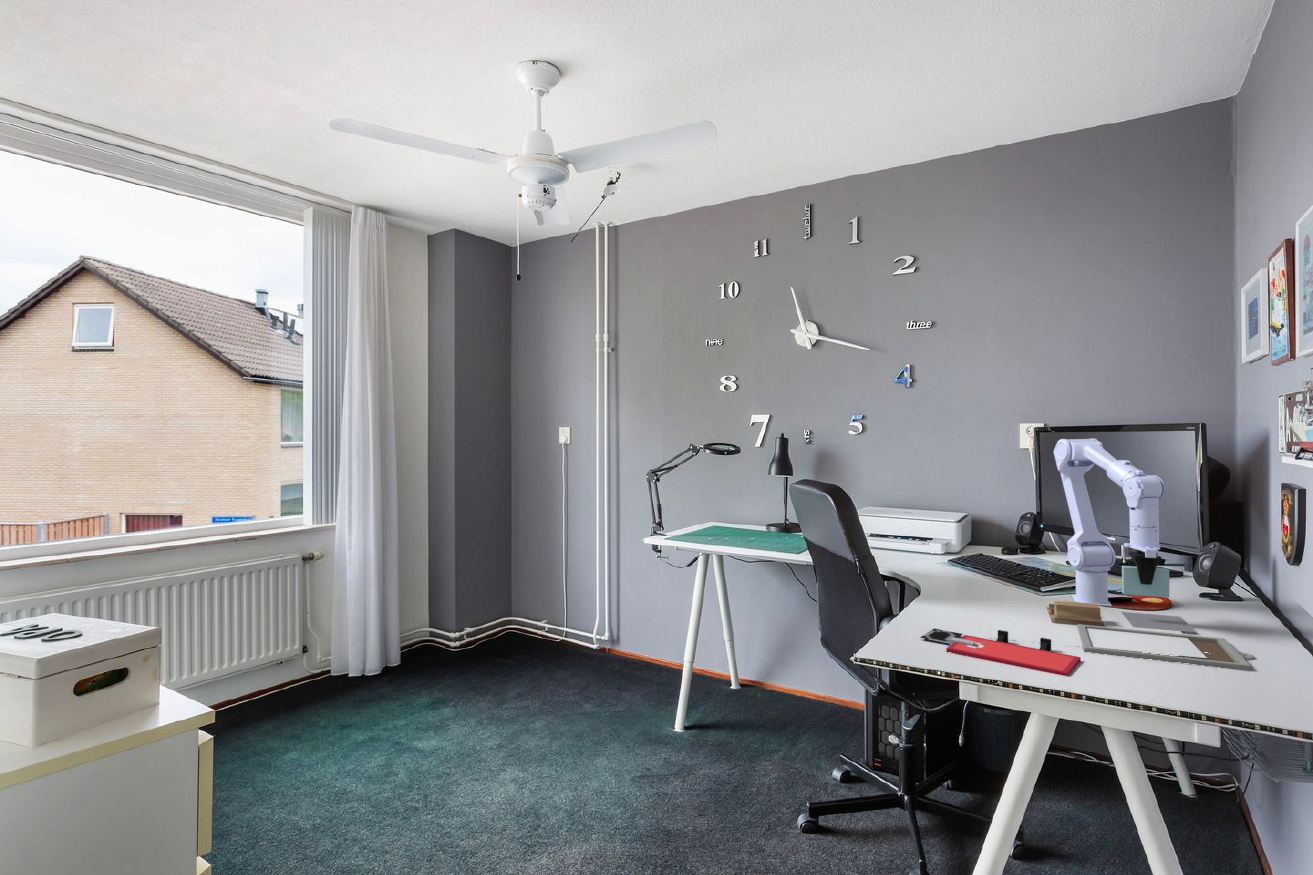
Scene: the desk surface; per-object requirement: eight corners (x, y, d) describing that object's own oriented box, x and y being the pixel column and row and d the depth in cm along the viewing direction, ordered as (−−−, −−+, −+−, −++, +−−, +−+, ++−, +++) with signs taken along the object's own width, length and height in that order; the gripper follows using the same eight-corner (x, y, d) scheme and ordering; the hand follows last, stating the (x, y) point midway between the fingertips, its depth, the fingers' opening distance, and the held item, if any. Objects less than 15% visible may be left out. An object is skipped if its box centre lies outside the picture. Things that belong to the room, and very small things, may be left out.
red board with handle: (937, 630, 162) (911, 647, 151) (937, 618, 162) (911, 634, 151) (1084, 658, 142) (1067, 680, 131) (1084, 645, 142) (1067, 666, 130)
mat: (1121, 613, 172) (1121, 611, 172) (1180, 618, 167) (1180, 616, 167) (1132, 628, 160) (1132, 626, 160) (1196, 634, 154) (1196, 632, 154)
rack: (1046, 609, 178) (1046, 602, 178) (1096, 613, 173) (1096, 606, 173) (1052, 624, 164) (1052, 617, 164) (1107, 629, 159) (1107, 622, 159)
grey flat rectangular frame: (1077, 623, 161) (1240, 639, 147) (1077, 630, 161) (1241, 647, 147) (1083, 647, 144) (1269, 667, 130) (1083, 654, 144) (1269, 676, 130)
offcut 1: (1054, 616, 169) (1054, 600, 169) (1097, 620, 165) (1097, 603, 165) (1055, 618, 167) (1055, 602, 167) (1098, 622, 164) (1098, 605, 164)
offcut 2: (1055, 619, 167) (1055, 602, 167) (1099, 622, 163) (1098, 605, 163) (1056, 621, 165) (1056, 604, 165) (1100, 624, 161) (1100, 608, 161)
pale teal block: (1122, 592, 167) (1121, 565, 167) (1167, 595, 163) (1167, 568, 163) (1123, 594, 165) (1123, 567, 165) (1169, 597, 162) (1169, 569, 161)
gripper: (1118, 521, 173) (1119, 575, 173) (1129, 529, 159) (1130, 588, 160) (1152, 522, 170) (1153, 577, 170) (1167, 530, 156) (1167, 590, 157)
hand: (1144, 583), depth 164 cm, fingers closed on pale teal block, 2 cm apart
